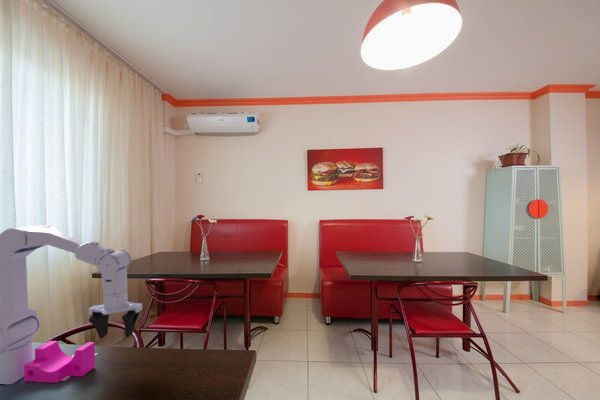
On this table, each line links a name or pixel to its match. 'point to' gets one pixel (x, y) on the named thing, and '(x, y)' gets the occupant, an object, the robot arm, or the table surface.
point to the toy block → (59, 363)
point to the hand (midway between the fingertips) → (116, 335)
